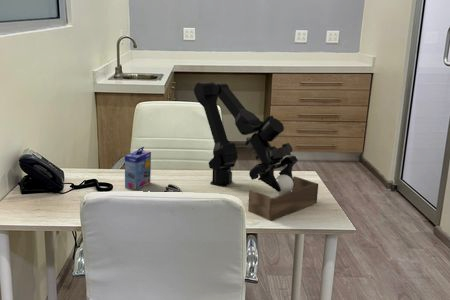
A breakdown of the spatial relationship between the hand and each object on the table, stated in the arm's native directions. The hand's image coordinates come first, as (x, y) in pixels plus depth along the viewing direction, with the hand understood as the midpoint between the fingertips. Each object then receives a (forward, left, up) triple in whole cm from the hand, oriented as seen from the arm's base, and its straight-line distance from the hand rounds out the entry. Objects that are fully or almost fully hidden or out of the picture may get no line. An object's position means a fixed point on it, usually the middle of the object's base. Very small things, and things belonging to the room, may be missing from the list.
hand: (286, 189), depth 147 cm
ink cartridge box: (-54, -8, -7) cm, 55 cm away
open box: (-1, 0, -7) cm, 7 cm away
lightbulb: (-1, 0, -7) cm, 7 cm away
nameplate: (-37, -16, -7) cm, 41 cm away
